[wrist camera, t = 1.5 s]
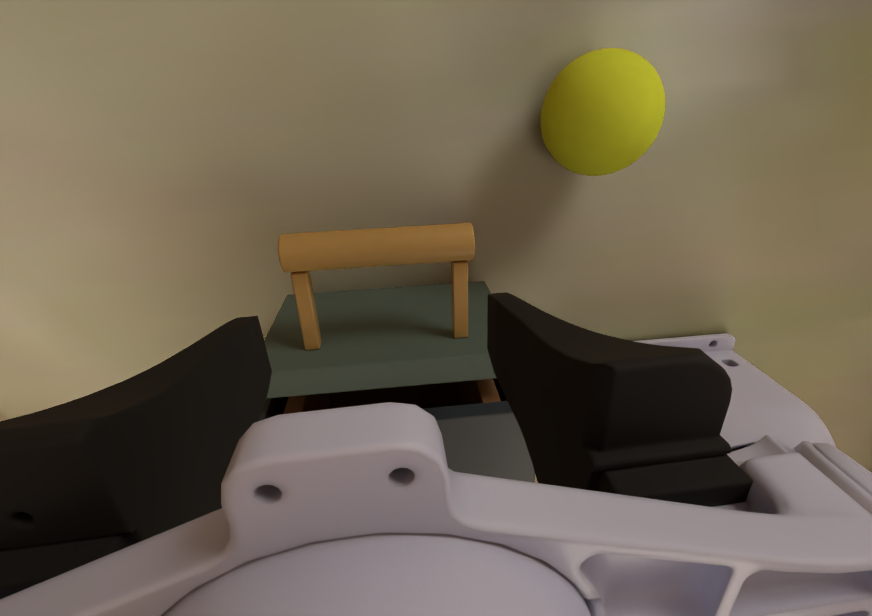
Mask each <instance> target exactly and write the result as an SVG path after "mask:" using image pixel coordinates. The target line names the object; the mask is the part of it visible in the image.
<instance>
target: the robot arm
mask: <svg viewBox="0 0 872 616" xmlns="http://www.w3.org/2000/svg"><path fill="white" fill-rule="evenodd" d="M710 342H712V343H711V344H710ZM734 344H735V337H733V336H732V335H730V334H728V333H724V334H712V335H700V336H688V337H676V338H664V339H652V340H640V341H629V340H624V339H619V338H615V337H611V336H607V335H603V334H600V333H596V332H593V331H590V330H587V329H584V328H581V327H578V326H575V325H573V324H570V323H568V322H565V321H563V320H561V319H559V318H556V317H554V316H552V315H550V314H548V313H546V312H544V311H542V310H540V309H538V308H536V307H534V306H532V305H530V304H529V303H527V302H525V301H523V300H521V299H519V298H517V297H516V296H514V295H511V294H509V293H495V294H488V313H487V349H488V353H489V356H490V360H491V363H492V367H493V370H494V373H495V375H496V378H497V380H498V382H499V384H500V386H501V388H502V391H503V393H504V395H505V397H506V399H507V401H508V403H509V405H510V407H511V410H512V412H513V414H514V416H515V418H516V420H517V422H518V425H519V427H520V429H521V432H522V434H523V437H524V440H525V443H526V446H527V449H528V452H529V455H530V458H531V461H532V464H533V468H534V471H535V474H536V477H537V481H538V483H533V482H526V481H519V480H512V479H504V478H497V477H490V476H483V475H475V474H468V473H461V472H454V471H452V470H451V469H449V468H448V465H447V460H446V455H445V449H444V444H443V438H442V434H441V431H440V429H439V427H438V424H437V422H436V419H435V417H434V416H433V415H431V414H429V413H428V412H426V411H425V410H423V409H422V408H420V407H418V406H417V405H414V404H404V403H394V402H387V403H378V404H369V405H360V406H351V407H343V408H334V409H325V410H316V411H307V412H299V413H290V414H281V415H276V416H273V417H270V418H267V419H264V420H261V421H258V420H259V417H260V415H261V412H262V409H263V407H264V404H265V401H266V398H267V394H268V390H269V385H270V380H271V374H272V369H271V365H270V362H269V358H268V354H267V350H266V346H265V342H264V339H263V335H262V331H261V327H260V323H259V320H258V316H251V317H241V318H236V319H233V320H231V321H229V322H228V323H226V324H224V325H222V326H221V327H219V328H218V329H216V330H214V331H213V332H211V333H210V334H208V335H206V336H205V337H203V338H202V339H200V340H199V341H197V342H195V343H194V344H192V345H191V346H189V347H187V348H186V349H184V350H182V351H180V352H179V353H177V354H175V355H174V356H172V357H170V358H168V359H167V360H165V361H163V362H162V363H160V364H158V365H156V366H154V367H152V368H150V369H148V370H146V371H144V372H142V373H140V374H138V375H136V376H134V377H131V378H129V379H127V380H125V381H123V382H120V383H118V384H115V385H113V386H110V387H108V388H105V389H103V390H100V391H98V392H95V393H93V394H90V395H87V396H85V397H82V398H79V399H76V400H73V401H70V402H67V403H64V404H61V405H58V406H55V407H52V408H48V409H45V410H42V411H38V412H35V413H32V414H28V415H24V416H20V417H16V418H12V419H8V420H5V421H1V422H0V616H872V473H871V472H870V471H868V470H867V469H865V468H864V467H863V466H861V465H860V464H859V463H857V462H856V461H854V460H853V459H851V458H850V457H849V456H847V455H846V454H844V453H843V452H841V451H840V450H838V449H837V448H836V446H835V443H834V441H833V438H832V436H831V434H830V433H829V431H828V429H827V427H826V426H825V424H824V423H823V421H822V420H821V419H820V417H819V416H818V415H817V414H816V413H815V412H814V411H813V410H812V409H811V408H810V407H809V406H808V405H807V404H805V403H804V402H803V401H802V400H800V399H799V398H797V397H796V396H795V395H793V394H792V393H791V392H789V391H788V390H786V389H785V388H784V387H782V386H781V385H780V384H778V383H777V382H775V381H774V380H773V379H771V378H770V377H769V376H767V375H766V374H764V373H763V372H762V371H760V370H759V369H758V368H756V367H755V366H753V365H752V364H751V363H749V362H748V361H747V360H745V359H744V358H742V357H741V356H740V355H738V354H737V353H735V352H734V351H733V347H734Z"/></svg>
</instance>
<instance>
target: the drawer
mask: <svg viewBox="0 0 872 616" xmlns="http://www.w3.org/2000/svg"><path fill="white" fill-rule="evenodd" d="M474 255H475V235H474V229H473V226H472V224H471V223H456V224H439V225H423V226H406V227H389V228H372V229H356V230H339V231H322V232H305V233H289V234H281V235H280V236H279V239H278V256H279V261H280V265H281V267H282V269H283V271H284V272H292V273H291V278H292V284H293V289H294V294H295V295H287V297H286V299H285V301H284V303H283V305H282V307H281V309H280V311H279V313H278V315H277V317H276V319H275V321H274V323H273V325H272V327H271V329H270V331H269V333H268V335H267V337H266V339H265V341H264V342H265V346H266V350H267V354H268V358H269V362H270V365H271V369H272V374H271V380H270V385H269V390H268V394H267V398H279V397H289V398H288V401H287V404H286V407H285V410H284V413H283V414H290V413H299V412H307V411H316V410H325V409H334V408H343V407H351V406H360V405H369V404H378V403H387V402H394V403H404V404H414V405H417V406H418V407H420V408H422V409H423V408H434V407H445V406H456V405H467V404H478V403H488V402H499V401H501V400H500V397H499V394H498V392H497V389H496V387H495V384H494V381H493V379H495V378H496V375H495V373H494V370H493V367H492V363H491V360H490V356H489V353H488V349H487V313H488V294H491V293H490V291H489V289H488V287H487V285H486V283H485V282H484V281H480V282H468V262H467V260H473V258H474ZM437 262H451V284H438V285H423V286H409V287H395V288H381V289H367V290H352V291H338V292H324V293H313V288H312V282H311V276H310V271H316V270H331V269H346V268H361V267H376V266H392V265H407V264H422V263H437ZM267 398H266V399H267Z"/></svg>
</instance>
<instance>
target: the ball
mask: <svg viewBox="0 0 872 616" xmlns="http://www.w3.org/2000/svg"><path fill="white" fill-rule="evenodd" d="M664 113H665V92H664V88H663V84H662V82H661V79H660V77H659V75H658V73H657V72H656V70H655V69H654V67H653V66H652V65H651V64H650V63H649V62H648V61H647V60H646V59H644V58H643V57H641V56H640V55H638V54H636V53H634V52H631V51H629V50H625V49H620V48H605V49H599V50H595V51H591V52H589V53H587V54H584V55H582V56H580V57H578V58H577V59H575V60H574V61H572V62H571V63H570V64H568V65H567V66H566V67H565V68H564V69H563V70H562V71H561V72H560V73H559V74H558V75H557V77H556V78H555V79H554V81H553V82H552V84H551V85H550V87H549V89H548V91H547V93H546V96H545V99H544V102H543V106H542V111H541V132H542V136H543V140H544V143H545V145H546V147H547V149H548V151H549V152H550V154H551V155H552V156H553V158H554V159H555V160H556V161H557V162H558V163H559V164H561V165H562V166H563V167H565V168H566V169H568V170H570V171H572V172H575V173H578V174H582V175H588V176H598V175H606V174H610V173H614V172H616V171H619V170H621V169H623V168H625V167H627V166H629V165H630V164H632V163H633V162H635V161H636V160H637V159H638V158H639V157H641V156H642V155H643V154H644V153H645V152H646V151H647V149H648V148H649V147H650V146H651V144H652V143H653V141H654V140H655V138H656V136H657V134H658V132H659V130H660V128H661V125H662V122H663V118H664Z"/></svg>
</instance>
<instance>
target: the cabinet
mask: <svg viewBox="0 0 872 616" xmlns="http://www.w3.org/2000/svg"><path fill="white" fill-rule="evenodd" d="M493 381H494V384H495V387H496V389H497V392H498V394H499V397H500V400H501V401H499V402H488V403H478V404H467V405H456V406H445V407H434V408H423V410H425V411H426V412H428V413H429V414H431V415H433V416H434V417H435V419H436V422H437V424H438V427H439V429H440V431H441V434H442V438H443V444H444V449H445V455H446V460H447V465H448V468H449V469H451V470H452V471H454V472H461V473H468V474H475V475H483V476H490V477H497V478H504V479H512V480H519V481H526V482H533V483H534V480H535V471H534V468H533V464H532V461H531V458H530V455H529V452H528V449H527V446H526V443H525V440H524V437H523V434H522V432H521V429H520V427H519V425H518V422H517V420H516V418H515V416H514V414H513V412H512V410H511V407H510V405H509V403H508V401H507V399H506V397H505V395H504V393H503V391H502V388H501V386H500V384H499V382H498V380H497V378H495V379H493ZM288 398H289V397H279V398H267V399H266V401H265V404H264V407H263V409H262V412H261V415H260V417H259V420H258V421H261V420H264V419H267V418H270V417H273V416H276V415H281V414H283V413H284V410H285V407H286V404H287V401H288Z"/></svg>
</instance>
